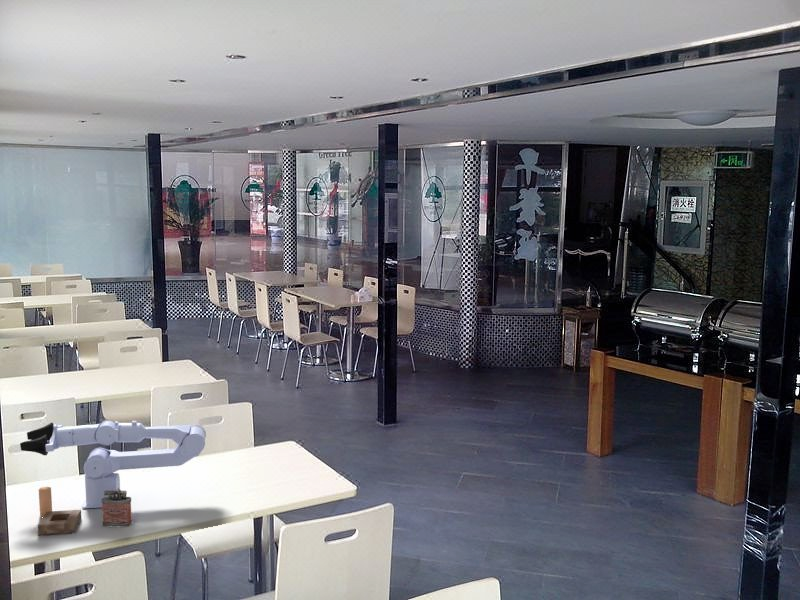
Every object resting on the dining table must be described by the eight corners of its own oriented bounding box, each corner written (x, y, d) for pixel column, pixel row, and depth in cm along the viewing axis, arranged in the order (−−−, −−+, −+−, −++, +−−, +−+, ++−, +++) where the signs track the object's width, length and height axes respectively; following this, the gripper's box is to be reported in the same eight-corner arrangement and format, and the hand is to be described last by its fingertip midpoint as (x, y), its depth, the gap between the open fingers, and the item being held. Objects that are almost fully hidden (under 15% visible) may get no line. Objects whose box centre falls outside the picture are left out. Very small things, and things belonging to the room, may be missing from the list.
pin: (53, 512, 219) (52, 486, 218) (50, 517, 216) (49, 490, 215) (41, 513, 219) (40, 486, 217) (38, 518, 215) (37, 491, 214)
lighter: (133, 521, 214) (132, 487, 213) (130, 526, 211) (128, 492, 209) (104, 521, 214) (103, 487, 212) (100, 526, 210) (99, 492, 209)
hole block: (81, 519, 215) (80, 509, 214) (73, 533, 206) (73, 523, 206) (47, 521, 213) (46, 511, 213) (38, 535, 204) (37, 525, 204)
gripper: (77, 413, 228) (28, 418, 225) (67, 433, 214) (15, 438, 212) (80, 435, 230) (31, 440, 227) (70, 456, 216) (19, 461, 213)
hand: (24, 441), depth 219 cm, fingers open, 7 cm apart
